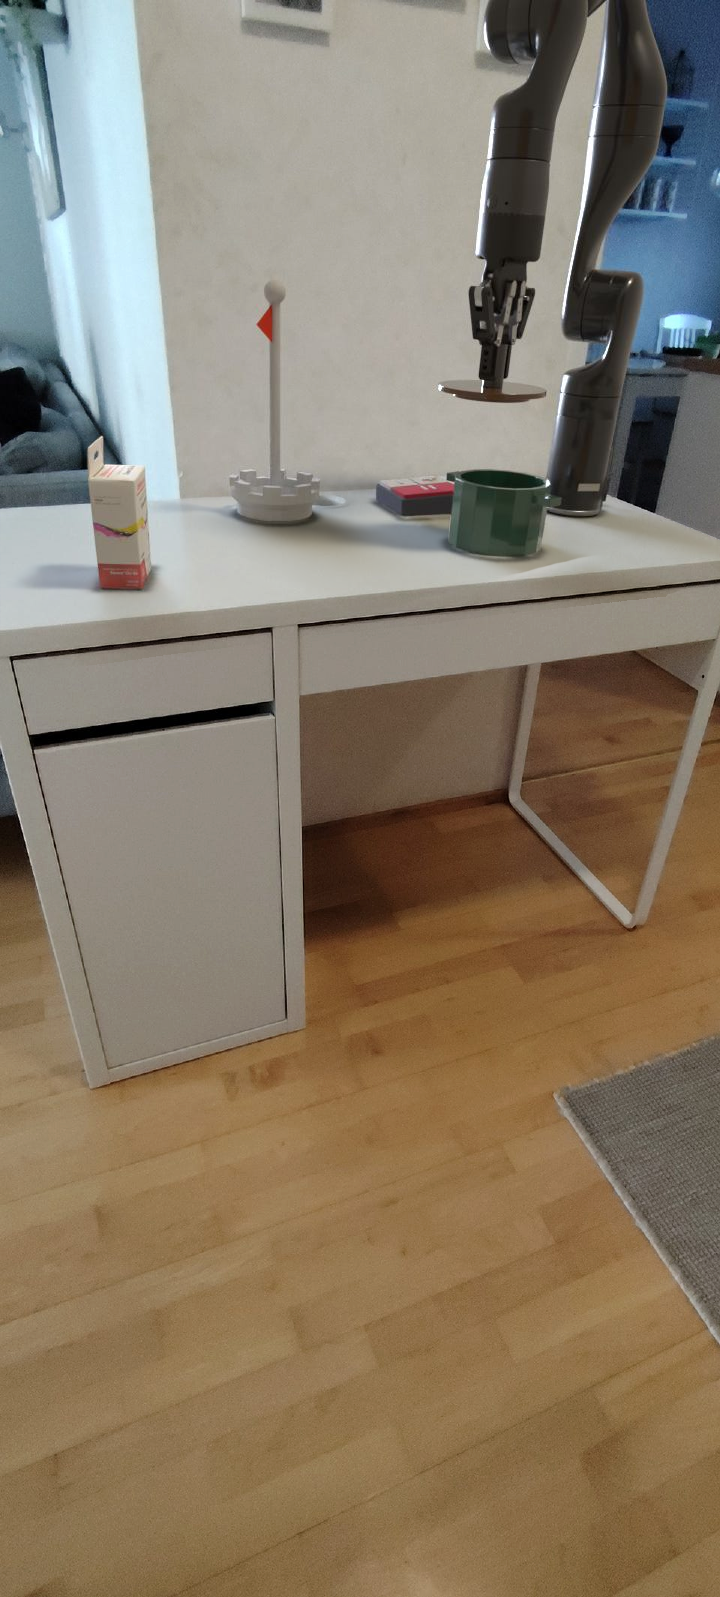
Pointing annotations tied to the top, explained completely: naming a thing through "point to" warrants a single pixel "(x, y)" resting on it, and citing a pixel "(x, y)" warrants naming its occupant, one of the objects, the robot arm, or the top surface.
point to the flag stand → (274, 443)
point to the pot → (498, 511)
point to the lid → (493, 387)
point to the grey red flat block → (416, 495)
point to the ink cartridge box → (119, 521)
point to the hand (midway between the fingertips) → (493, 378)
